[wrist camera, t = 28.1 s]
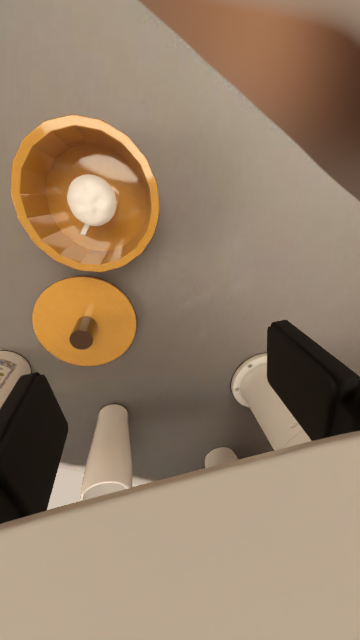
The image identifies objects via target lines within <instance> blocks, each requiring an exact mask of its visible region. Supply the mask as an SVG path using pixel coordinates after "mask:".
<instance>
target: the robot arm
mask: <svg viewBox="0 0 360 640" xmlns="http://www.w3.org/2000/svg"><path fill="white" fill-rule="evenodd" d="M231 390H232V393H233V395H234V397H235V399H236V400H237V401H238V402H239V403H240V404H241V405H244V406H246V407H250V409H251V411H252V412H253V414H254V416H255V418H256V419H257V421H258V423H259V425H260V426H261V428H262V430H263V432H264V434H265V435H266V437H267V439H268V441H269V442H270V444H271V446H272V448H273V449H274V451H270V452H266V453H262V454H259V455H255V456H251V457H247V458H243V459H239V460H235V461H231V462H227V463H223V464H220V465H216V466H212V467H208V468H204V469H200V470H197V471H193V472H189V473H185V474H181V475H177V476H174V477H170V478H166V479H162V480H158V481H155V482H151V483H147V484H143V485H139V486H136V487H132V488H128V489H124V490H121V491H117V492H113V493H109V494H106V495H102V496H98V497H94V498H91V499H87V500H83V501H80V502H76V503H72V504H69V505H64V506H61V507H57V508H54V509H50V510H47V507H48V503H49V499H50V495H51V492H52V488H53V484H54V480H55V477H56V473H57V469H58V466H59V462H60V459H61V455H62V451H63V448H64V444H65V440H66V437H67V433H68V424H67V421H66V419H65V417H64V415H63V413H62V410H61V408H60V406H59V404H58V402H57V400H56V398H55V396H54V393H53V391H52V389H51V387H50V385H49V383H48V381H47V379H46V377H45V376H44V375H40V374H39V373H38V372H36V373H31V374H26V375H22V376H20V378H19V379H18V381H17V382H16V384H15V386H14V387H13V389H12V390H11V392H10V394H9V395H8V397H7V398H6V400H5V402H4V403H3V405H2V406H1V408H0V640H360V377H359V376H358V375H357V374H356V373H354V372H353V371H352V370H350V369H349V368H348V367H347V366H345V365H344V364H343V363H341V362H340V361H339V360H338V359H336V358H335V357H334V356H332V355H331V354H330V353H329V352H327V351H326V350H325V349H323V348H322V347H321V346H319V345H318V344H317V343H316V342H314V341H313V340H312V339H310V338H309V337H308V336H307V335H305V334H304V333H303V332H301V331H300V330H299V329H298V328H296V327H295V326H294V325H292V324H291V323H290V322H288V321H287V320H282V321H277V322H273V323H272V324H271V326H270V327H268V330H267V353H263V354H259V355H256V356H253V357H252V358H250V359H248V360H247V361H245V362H244V363H243V364H242V365H241V366H240V367H239V368H238V369H237V371H236V372H235V374H234V376H233V378H232V382H231ZM46 510H47V511H46Z"/></svg>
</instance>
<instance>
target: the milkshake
mask: <svg viewBox="0 0 360 640" xmlns="http://www.w3.org/2000/svg"><path fill="white" fill-rule="evenodd" d="M67 201H68V205H69V207H70V209H71V211H72V213H73V215H74V216H75V217H76V218H77V219H78V220H80V221H81V222H83V223H85V224H84V226H83V228H82V230H81V232H80V234H81V235H84V236H85V234H86V232H87V230H88V228H89V226H90V225H91V226H100V225H103V224H106V223H107V222H109V221H110V220H111V219H112V217H113V216H114V214H115V211H116V207H117V200H116V195H115V193H114V191H113V189H112V188H111V186H110V185H109V184H108V183H107V182H106V181H105V180H104V179H102V178H101V177H98V176H96V175H90V174H87V175H82V176H79V177H77V178H75V179H74V180H73V181H72V182H71V184H70V186H69V189H68V194H67Z"/></svg>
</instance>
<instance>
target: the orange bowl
mask: <svg viewBox="0 0 360 640" xmlns="http://www.w3.org/2000/svg"><path fill="white" fill-rule="evenodd" d="M87 174H90V175H96V176H98V177H101V178H102V179H104V180H105V181H106V182H107V183H108V184H109V185H110V186H111V188H112V189H113V191H114V193H115V195H116V200H117V207H116V211H115V214H114V216H113V217H112V219H111V220H110V221H109V222H107V223H106V224H103V225H100V226H91V225H90V226H89V228H88V230H87V232H86V234H85V236H84V235H81V234H80V232H81V230H82V228H83V226H84V224H85V223H83V222H81V221H80V220H78V219H77V218H76V217H75V216H74V215H73V213H72V211H71V209H70V207H69V205H68V201H67V194H68V189H69V186H70V184H71V182H72V181H73V180H74V179H75V178H77V177H79V176H82V175H87ZM11 196H12V199H13V203H14V206H15V209H16V213H17V216H18V219H19V221H20V223H21V224H22V226H23V227H24V228H25V230H26V231H27V233H28V234H29V236H30V237H31V239H32V240H33V242H34V243H35V244H36V245H37V246H38V247H39V248H41V249H42V250H43V251H44V252H46V253H47V254H48V255H49V256H50V257H52V258H53V259H54V260H55V261H57V262H60V263H62V264H65V265H67V266H70V267H72V268H75V269H77V270H81V271H95V272H104V271H108V270H112V269H115V268H119V267H123V266H125V265H126V264H127V263H129V262H130V261H132V260H133V259H134V258H136V257H137V256H139V255H140V254H141V253H142V252H143V250H144V249H145V247H146V246H147V244H148V243H149V241H150V240H151V238H152V237H153V235H154V232H155V228H156V224H157V220H158V216H159V211H160V210H159V198H158V186H157V183H156V180H155V178H154V175H153V173H152V170H151V168H150V165H149V163H148V161H147V159H146V157H145V156H144V155H143V154H142V152H141V151H140V150H139V149H138V148H137V146H136V145H135V144H134V143H133V142H132V140H131V139H130V138H129V137H128V136H127V135H125V134H124V133H122V132H121V131H119V130H117V129H116V128H114V127H113V126H111V125H109V124H108V123H106V122H104V121H103V120H100V119H95V118H90V117H84V116H79V115H67V116H63V117H59V118H55V119H50V120H46V121H44V122H43V123H42V124H40V125H39V126H38V127H37V128H36V129H34V130H33V131H32V132H31V133H29V134H28V135H27V136H26V137H25V138H24V139H23V141H22V143H21V145H20V147H19V149H18V151H17V154H16V156H15V158H14V160H13V162H12V173H11Z"/></svg>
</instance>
